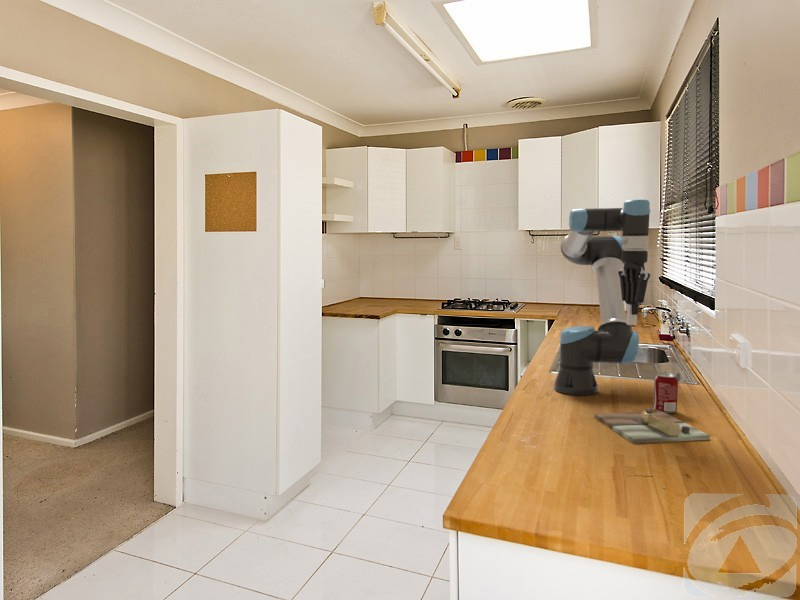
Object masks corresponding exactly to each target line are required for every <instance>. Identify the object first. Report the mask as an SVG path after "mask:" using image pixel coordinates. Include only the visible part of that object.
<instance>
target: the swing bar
mask: <svg viewBox="0 0 800 600" xmlns="http://www.w3.org/2000/svg"><path fill="white" fill-rule="evenodd" d="M654 411H655V410H653V409H651V408H646V409H644V410H642V411H640V412H641V422H642V423H643V424H647V425H649V426H651V427H653V428H655V429H657V430H658V431H660V432H662V433H664V434H666V435H668V436H677V435H679V427H680V424H677V423H675V422H673V421H671V420H669V419H667V418H665V417H663V416H661V415H658V414H657V413H656V412H654Z"/></svg>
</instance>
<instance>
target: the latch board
mask: <svg viewBox="0 0 800 600" xmlns="http://www.w3.org/2000/svg"><path fill="white" fill-rule="evenodd" d="M653 411H654V412H656V413H657V414H658V415H661V416H663V417H665V418H667V419H669V420H671V421H673V422H675V423H677V424H680V427H679V435H677V436H668V435H666V434H664V433H662V432H660V431H658V430H657V429H655V428H653V427H651V426H649V425H647V424H643V423H642V422H641V411H631V412H629V411H628V412H607V413H606V412H605V413H603V412H602V413H594V419H596V420H597V421H599V422H600V423H602V424H603V425H605V426H606V427H607V428H609V429H611V430H613V432H616V433H617V434H618V435H620V437H623V438H624V439H626V440H627V441H629V442H630V443H632V444H649V443H666V442H667V443H668V442H669V443H670V442H687V441H688V442H689V441H691V442H693V441H707V440H708V441H709V440H710V439H711V438H710V437H711V436H710V434H707V433H706V432H704V431H702V430H700V429H698V428H696V427H694V426H692V425H690V424H688V423H687V422H685V421H682V420H681V419H678V418H676V417H674V416H673V415H672V414H667V413H665V412H663V411H656V410H653Z"/></svg>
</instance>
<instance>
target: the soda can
mask: <svg viewBox="0 0 800 600" xmlns="http://www.w3.org/2000/svg"><path fill="white" fill-rule="evenodd" d="M678 391H679V380H678V379H677V375H676V374H674V373H671V372H657V373H656V376H655V377H654V379H653V399H652V400H653V405H652V408H653V409H652V410H653V411H663V412H665V413H667V414H669V415H672V414H673V413H677V411H678Z"/></svg>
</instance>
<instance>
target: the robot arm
mask: <svg viewBox="0 0 800 600" xmlns="http://www.w3.org/2000/svg"><path fill="white" fill-rule="evenodd" d="M650 205H651V203H650V201H649V200H648V199H628V200H625V201H624V202H623V206H622V207H612V208H611V207H610V208H609V207H607V208H605V207H604V208H603V207H602V208H601V207H600V208H584V207H583V208H581V207H580V208H574V209H572V210H570V212H569V217H568V226H569V230H570V231H569V233H568V235H566V236H565V237H564V238H563V239H562V242H561V243H560V251H561V253H562V256H563V257H564V258H565V259H566V260H567V261H569V262H570V263H572V264H575V265H578V266H579V265H580V266H591V270H592V272H594V273H596V281H597V282H596V283H597V291H598V294H597V295H598V300H599V301H598V302H599V303H598V305H599V312H600V322H601V324H600V325H598V327H597V330H596V329H595V328H594V326H592V325H591V326H590V325H581V326H580V325H578V326H571V327H567V328H564V329H563V330H562V331H561V332H560V338H559V339H560V340H559V369H558V372H557V375H556V378H555V379H554V382H553V383H554V385H553V386H554V387H553V388H554V390H555V391H556V392H559V393H561V394H565V395H573V396H590V395H595V394H597V393H598V390H599V389H598V387H599V386H598V383H597V380H596V375H595V373H594V363H595V364H620V365H622V364H632V363H634V362H635V361H636V358H637V356H638V351H639V344H640V343H639V342H640V337H639V336H640V335H639V333H638V331H636V330H633V329H632V326H636V325H638V315H639V314H638V313H639V305H640V304H644V302H645V296H646V291H647V286H648V282H649V279H650V277H651V273H649V272H646V267H645V264H646V263H648V255H649V254H648V253H649V251H648V250H647V249H649V240H650V238H649V236H650V235H649V232H650V213H651V207H650ZM594 232H622V237H621V236H619V235H607V236H606V235H593V234H594ZM622 268H623V269H622ZM625 304H626V310H625Z"/></svg>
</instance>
